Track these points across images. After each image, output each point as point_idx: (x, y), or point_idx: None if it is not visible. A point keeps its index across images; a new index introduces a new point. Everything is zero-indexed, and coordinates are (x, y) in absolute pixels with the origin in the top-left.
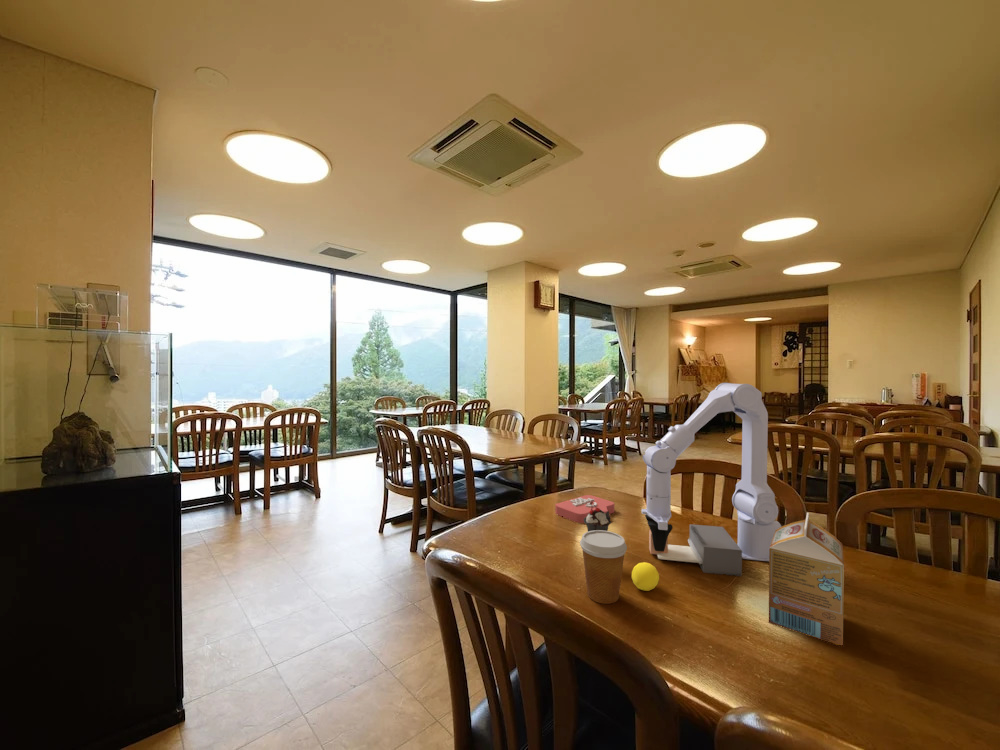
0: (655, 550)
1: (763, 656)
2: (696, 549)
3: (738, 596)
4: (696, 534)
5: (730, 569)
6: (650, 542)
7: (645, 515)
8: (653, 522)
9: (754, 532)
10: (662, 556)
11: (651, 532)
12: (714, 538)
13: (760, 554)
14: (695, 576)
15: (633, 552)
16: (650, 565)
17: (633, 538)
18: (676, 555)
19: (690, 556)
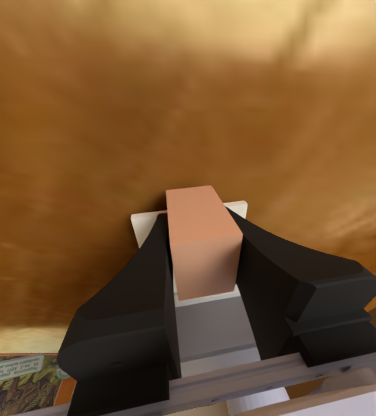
0: (157, 215)
1: None
2: (192, 305)
3: (49, 329)
4: (209, 352)
5: None
6: (177, 210)
7: (358, 281)
8: (145, 359)
9: (230, 404)
10: (141, 228)
11: (196, 246)
12: (191, 373)
13: None
14: (92, 281)
15: (186, 117)
16: None
17: (324, 122)
18: None
19: (173, 284)
